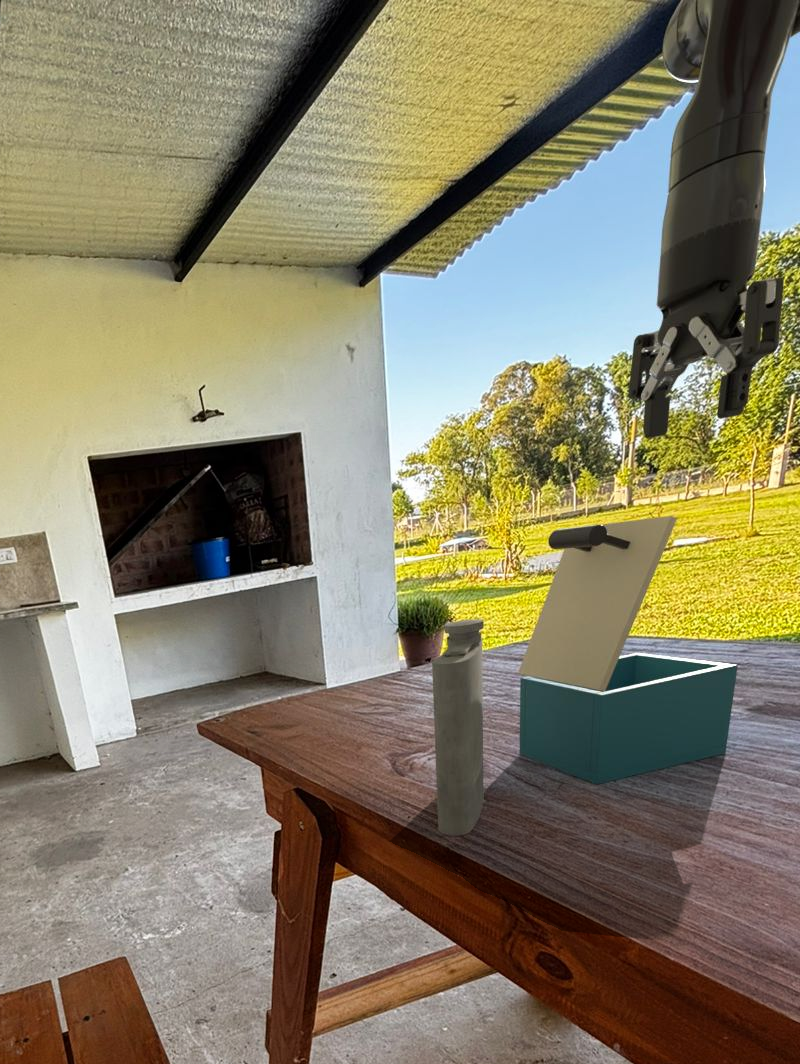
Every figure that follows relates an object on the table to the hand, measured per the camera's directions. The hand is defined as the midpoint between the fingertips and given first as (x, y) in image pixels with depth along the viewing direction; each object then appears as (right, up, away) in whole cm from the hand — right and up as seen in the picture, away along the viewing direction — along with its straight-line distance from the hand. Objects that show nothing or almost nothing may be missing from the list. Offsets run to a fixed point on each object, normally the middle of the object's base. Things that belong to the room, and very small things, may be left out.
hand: (690, 427), depth 64 cm
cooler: (-2, -34, +9) cm, 35 cm away
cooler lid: (-9, -18, +3) cm, 20 cm away
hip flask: (-22, -40, +4) cm, 46 cm away
